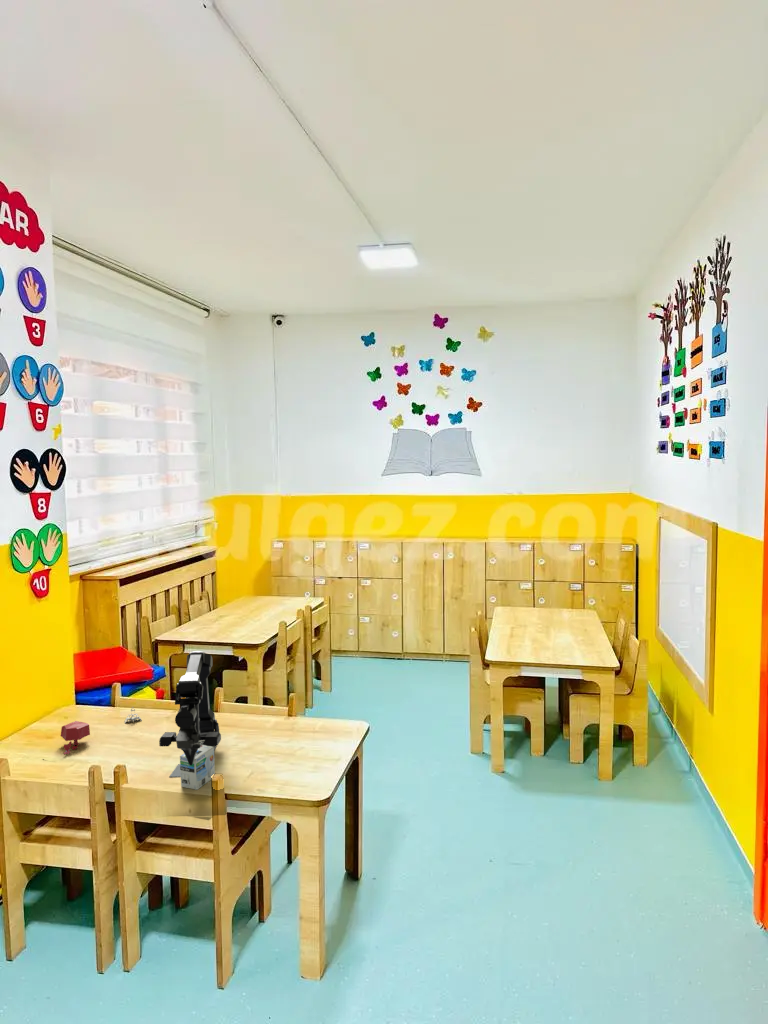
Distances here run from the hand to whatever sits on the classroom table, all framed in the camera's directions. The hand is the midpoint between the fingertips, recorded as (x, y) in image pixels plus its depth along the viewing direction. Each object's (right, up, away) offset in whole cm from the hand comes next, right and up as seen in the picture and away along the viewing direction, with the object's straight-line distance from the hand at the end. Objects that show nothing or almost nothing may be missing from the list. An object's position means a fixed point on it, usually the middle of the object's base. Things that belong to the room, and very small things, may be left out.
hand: (191, 764), depth 240 cm
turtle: (-56, -8, +38) cm, 68 cm away
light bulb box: (0, -9, +9) cm, 12 cm away
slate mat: (-1, -8, +18) cm, 20 cm away
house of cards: (-42, -6, +69) cm, 81 cm away
